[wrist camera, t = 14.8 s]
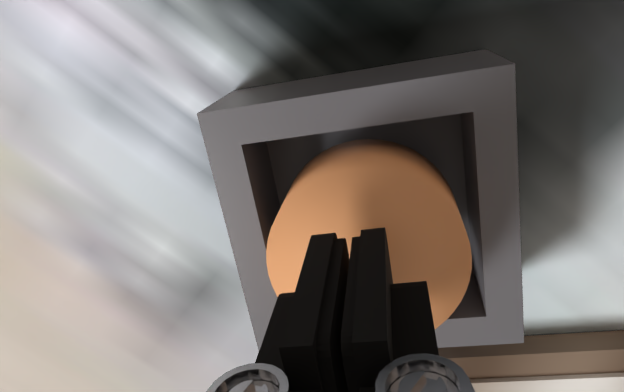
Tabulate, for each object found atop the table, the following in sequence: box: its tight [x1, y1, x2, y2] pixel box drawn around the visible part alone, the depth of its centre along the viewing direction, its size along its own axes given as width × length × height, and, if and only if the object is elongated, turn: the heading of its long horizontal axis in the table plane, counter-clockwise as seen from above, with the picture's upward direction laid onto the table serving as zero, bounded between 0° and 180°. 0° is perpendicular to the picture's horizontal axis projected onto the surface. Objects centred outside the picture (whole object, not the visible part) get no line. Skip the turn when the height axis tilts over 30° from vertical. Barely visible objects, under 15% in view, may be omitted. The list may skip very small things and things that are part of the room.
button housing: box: [197, 49, 524, 350], centre depth 15 cm, size 8×8×4 cm
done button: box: [266, 139, 472, 329], centre depth 13 cm, size 5×5×2 cm
